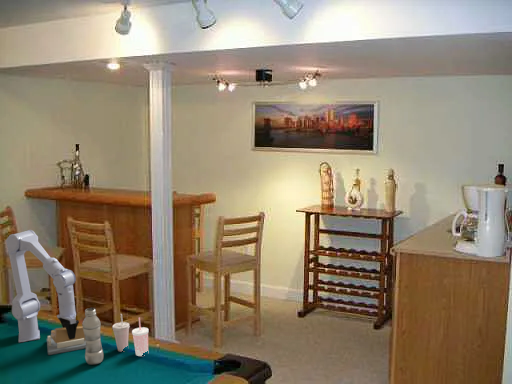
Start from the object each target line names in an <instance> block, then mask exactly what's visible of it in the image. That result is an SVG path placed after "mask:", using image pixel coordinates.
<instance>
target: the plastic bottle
mask: <svg viewBox="0 0 512 384" xmlns="http://www.w3.org/2000/svg"><path fill="white" fill-rule="evenodd" d="M84 316H85V317H84V319H83V321H82V323H81V324H82V325H81V326H83V331H84V335H85V342H86V348H85V353H84V358H85V361H86V363H87V364H88V365H93V366H94V365H98V364H101V362H103V360H104V350H103V347H102V341H101V326H102V325H101V321H100V318H99V317H98V316H97V311H96V307H89V308H86V309H84Z"/></svg>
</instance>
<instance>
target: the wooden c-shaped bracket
mask: <svg viewBox="0 0 512 384" xmlns="http://www.w3.org/2000/svg"><path fill="white" fill-rule="evenodd" d="M50 336H51V338H52V339H53V340H54V342H55V343H59V342H65V341H70V340H76V339H82V338H84V340H85V335H84V331H83V326H82V325H81V326H80V325H79V326H77V329H76V335H75V338H74V339H69V337H68V334H67V330H66V328H63V327H57V328H54V329H53V330H51V331H50Z"/></svg>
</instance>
